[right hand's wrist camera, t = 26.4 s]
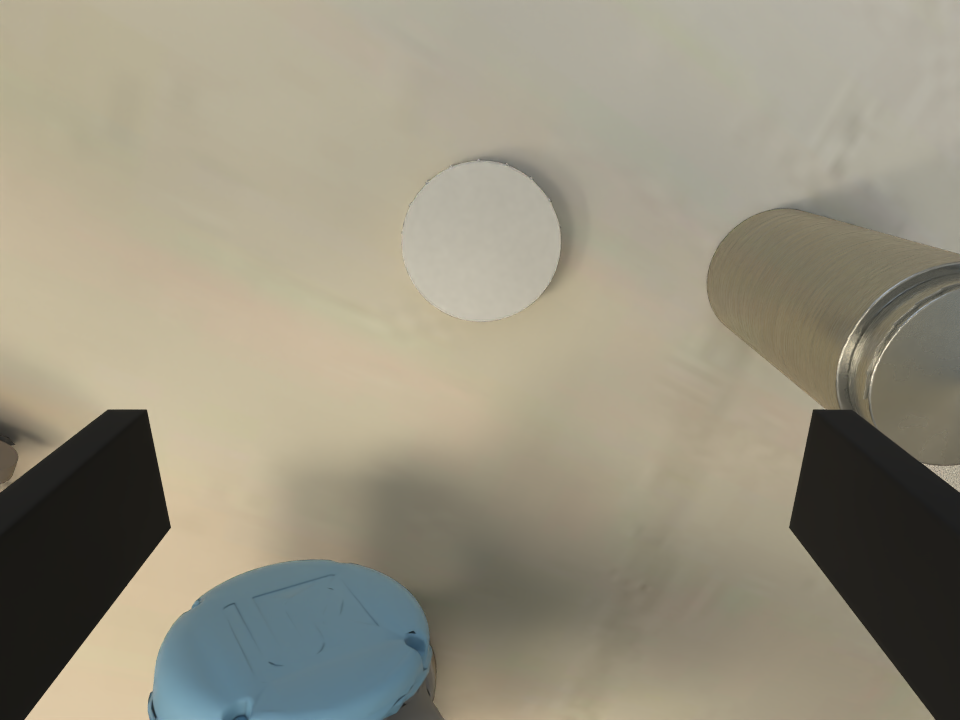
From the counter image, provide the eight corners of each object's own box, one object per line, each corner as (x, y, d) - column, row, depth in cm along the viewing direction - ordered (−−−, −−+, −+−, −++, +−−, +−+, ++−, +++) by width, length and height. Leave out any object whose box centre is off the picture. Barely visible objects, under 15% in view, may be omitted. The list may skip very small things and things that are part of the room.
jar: (848, 202, 38) (1113, 259, 22) (833, 332, 40) (1059, 467, 25) (708, 215, 38) (871, 281, 22) (704, 344, 41) (846, 484, 25)
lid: (373, 253, 39) (368, 259, 37) (468, 124, 36) (467, 124, 34) (492, 343, 41) (493, 352, 39) (590, 226, 38) (595, 231, 36)
